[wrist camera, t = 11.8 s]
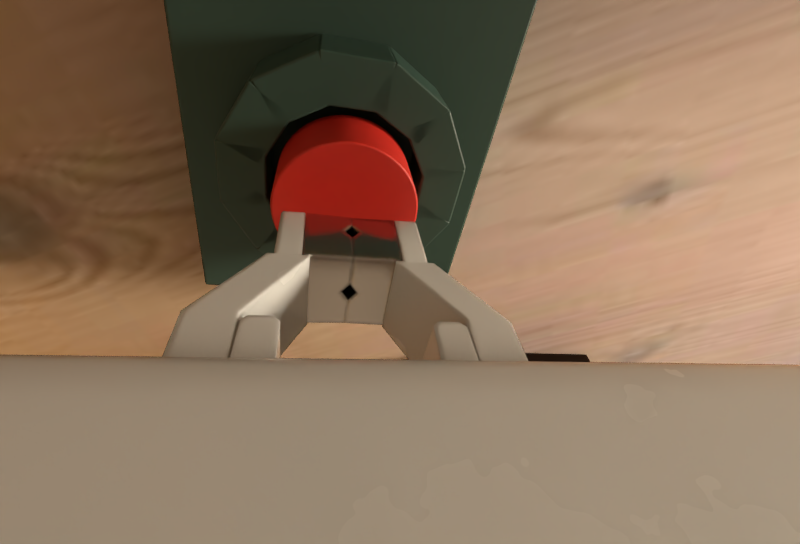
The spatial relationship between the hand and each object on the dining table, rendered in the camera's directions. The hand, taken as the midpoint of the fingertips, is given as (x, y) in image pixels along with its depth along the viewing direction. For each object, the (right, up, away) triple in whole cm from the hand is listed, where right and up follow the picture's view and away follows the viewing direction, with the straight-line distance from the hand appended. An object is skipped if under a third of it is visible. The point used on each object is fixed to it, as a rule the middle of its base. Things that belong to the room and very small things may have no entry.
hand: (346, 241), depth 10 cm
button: (0, +2, +2) cm, 3 cm away
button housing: (-1, +4, +5) cm, 6 cm away
